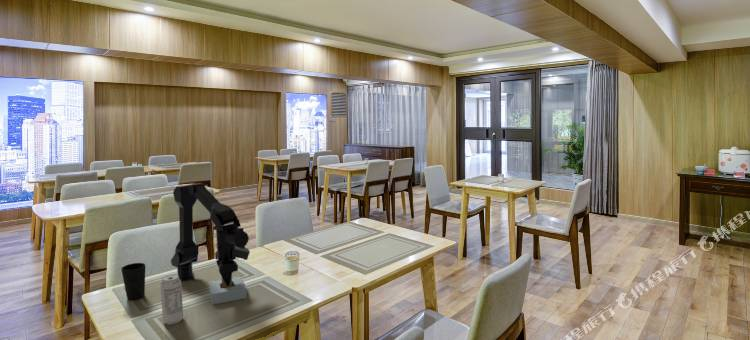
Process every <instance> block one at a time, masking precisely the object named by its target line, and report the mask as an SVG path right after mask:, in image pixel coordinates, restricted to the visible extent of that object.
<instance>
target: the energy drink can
mask: <svg viewBox="0 0 750 340" xmlns="http://www.w3.org/2000/svg"><path fill="white" fill-rule="evenodd" d="M161 279H162V280H161V282H160V285H159V286H160V297H161V298H160V299H161V310H162V321H163V323H164V324H165V325H168V326H169V325H176V324H178V323H180V322H181V321H182V319H183V318H184V306H183V305H184V304H183V291H182V290H183V289H182V281H181V280H180V279H179V276H178V274H169V275H165V276H163V277H162V278H161Z"/></svg>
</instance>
